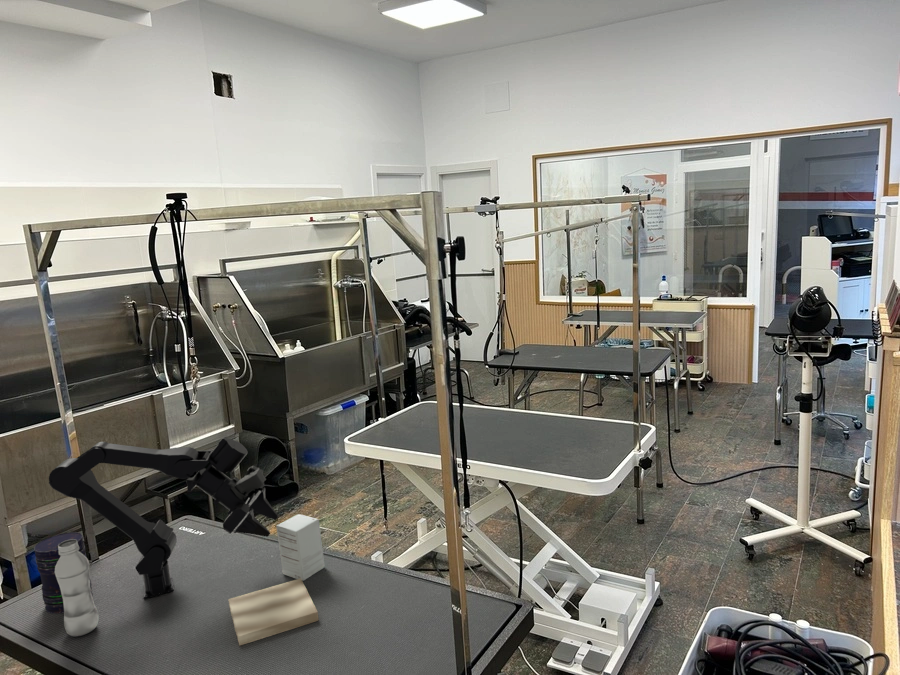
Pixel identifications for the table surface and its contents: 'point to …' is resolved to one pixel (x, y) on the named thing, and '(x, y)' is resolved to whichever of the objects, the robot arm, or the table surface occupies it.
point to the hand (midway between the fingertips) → (273, 526)
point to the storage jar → (53, 568)
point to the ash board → (272, 611)
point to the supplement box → (300, 546)
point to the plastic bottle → (75, 589)
